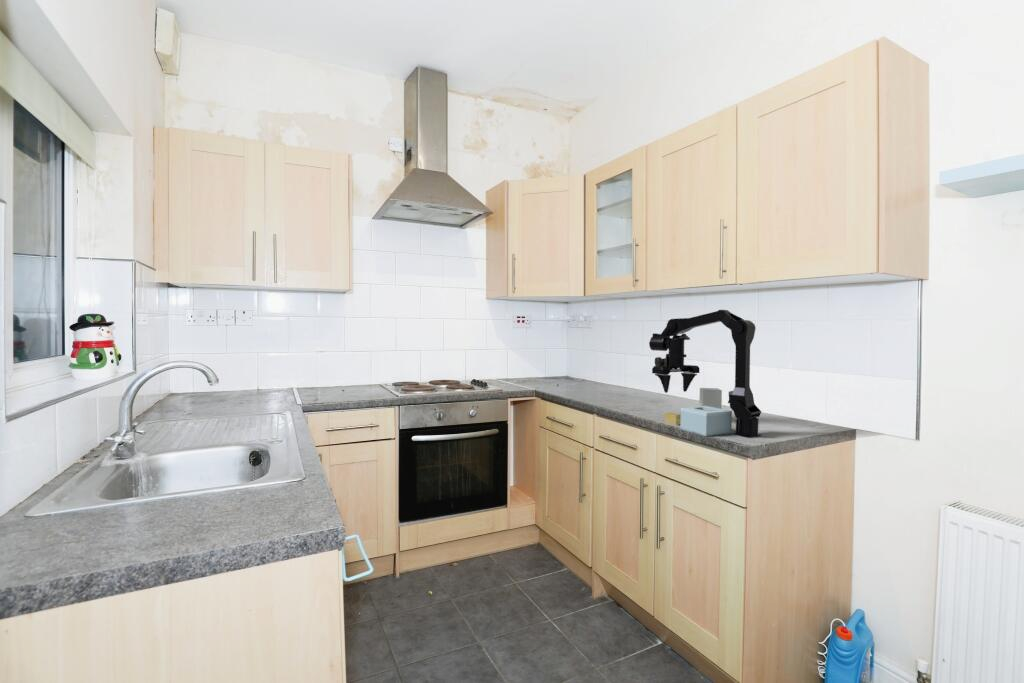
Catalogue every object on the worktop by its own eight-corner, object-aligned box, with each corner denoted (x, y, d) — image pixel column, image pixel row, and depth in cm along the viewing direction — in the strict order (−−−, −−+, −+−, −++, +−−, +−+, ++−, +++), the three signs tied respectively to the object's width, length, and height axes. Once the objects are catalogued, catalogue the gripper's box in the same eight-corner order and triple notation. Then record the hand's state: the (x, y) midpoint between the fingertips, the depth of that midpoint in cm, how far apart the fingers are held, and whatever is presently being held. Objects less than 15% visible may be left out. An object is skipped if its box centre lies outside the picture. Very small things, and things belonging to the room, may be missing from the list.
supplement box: (721, 422, 199) (722, 390, 199) (701, 421, 201) (702, 389, 200) (717, 419, 206) (718, 388, 206) (698, 418, 208) (699, 387, 208)
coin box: (731, 433, 178) (731, 410, 178) (706, 436, 173) (706, 413, 173) (705, 427, 189) (705, 405, 189) (680, 429, 184) (680, 407, 184)
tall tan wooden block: (670, 422, 199) (671, 412, 199) (682, 425, 193) (682, 414, 193) (664, 422, 198) (665, 412, 197) (676, 425, 192) (676, 415, 192)
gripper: (680, 350, 206) (679, 388, 207) (643, 350, 199) (642, 390, 199) (700, 351, 196) (700, 392, 197) (662, 352, 189) (661, 394, 189)
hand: (675, 392), depth 196 cm, fingers open, 9 cm apart
